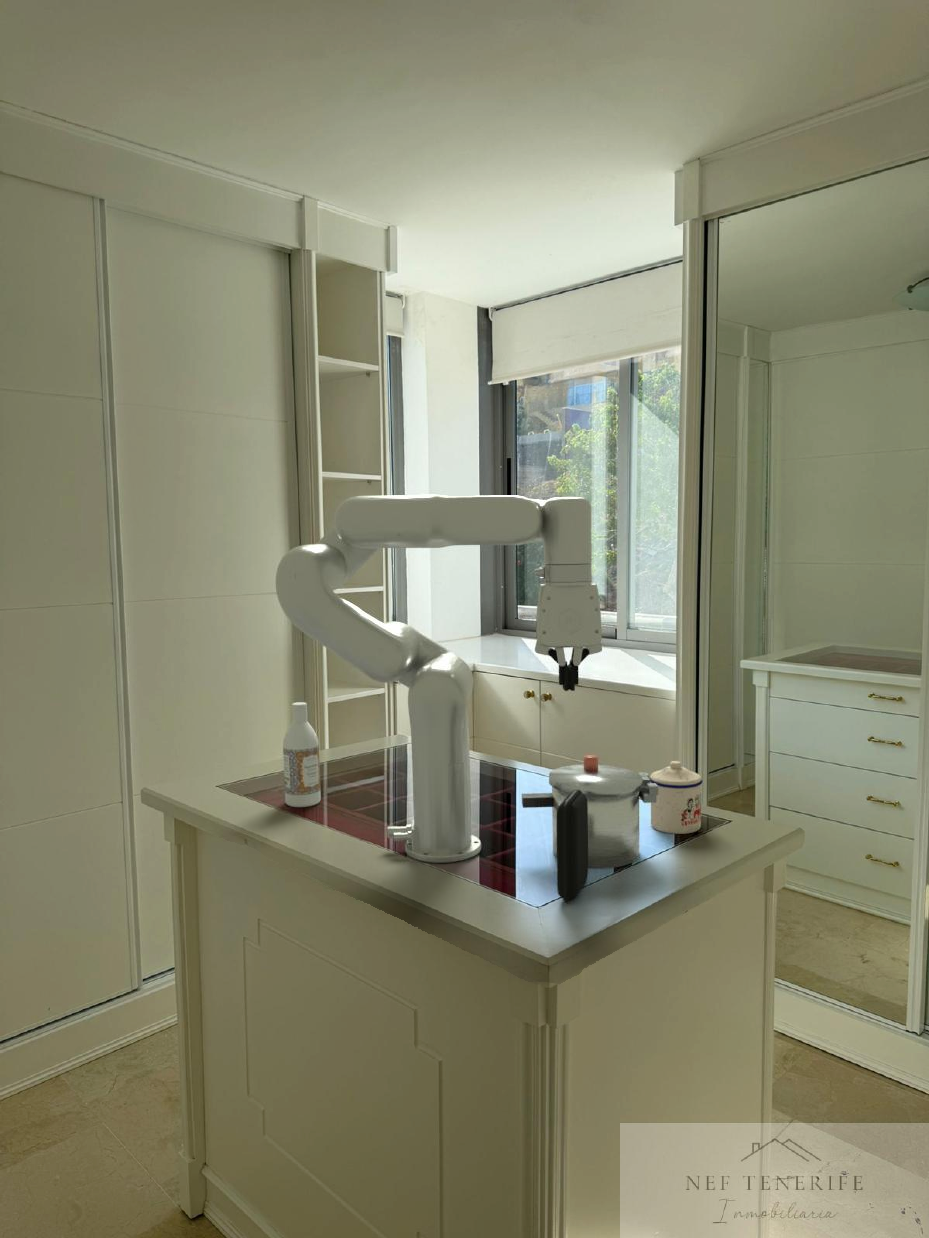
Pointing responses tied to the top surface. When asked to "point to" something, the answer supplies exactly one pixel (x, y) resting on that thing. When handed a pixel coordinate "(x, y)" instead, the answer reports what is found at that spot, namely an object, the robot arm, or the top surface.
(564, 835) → the carrying case or bag
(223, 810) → the top surface
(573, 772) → the lid
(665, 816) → the teacup with lid
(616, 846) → the cooker pot
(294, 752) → the bath foam
